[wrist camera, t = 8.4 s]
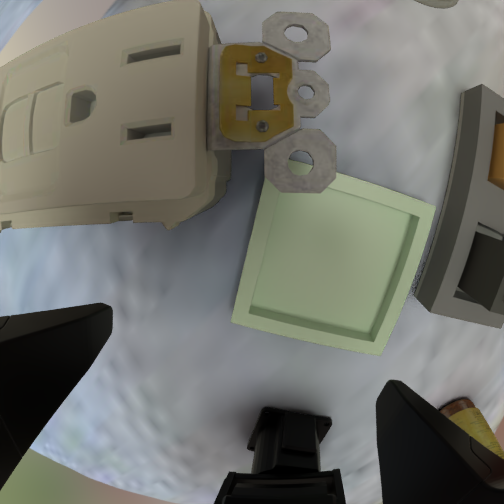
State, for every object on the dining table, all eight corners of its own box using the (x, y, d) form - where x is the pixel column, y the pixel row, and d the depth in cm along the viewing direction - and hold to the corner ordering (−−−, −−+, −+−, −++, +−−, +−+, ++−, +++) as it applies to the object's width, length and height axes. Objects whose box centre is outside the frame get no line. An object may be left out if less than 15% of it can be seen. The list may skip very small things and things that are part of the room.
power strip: (482, 313, 19) (500, 328, 16) (413, 295, 19) (429, 312, 16) (526, 136, 15) (547, 134, 12) (461, 92, 15) (482, 83, 12)
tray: (374, 344, 20) (380, 356, 19) (234, 311, 21) (230, 322, 19) (425, 204, 18) (436, 207, 16) (272, 156, 18) (270, 154, 17)
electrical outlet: (8, 110, 19) (-64, 102, 9) (304, 54, 17) (329, -27, 8) (7, 222, 22) (-67, 244, 12) (308, 211, 20) (344, 239, 10)
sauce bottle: (426, 409, 22) (486, 576, 2) (477, 387, 20) (557, 526, 1) (421, 445, 23) (462, 586, 4) (468, 425, 22) (524, 550, 2)
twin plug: (480, 289, 18) (529, 325, 11) (446, 278, 18) (496, 317, 11) (496, 241, 17) (552, 265, 10) (463, 226, 17) (521, 248, 10)
